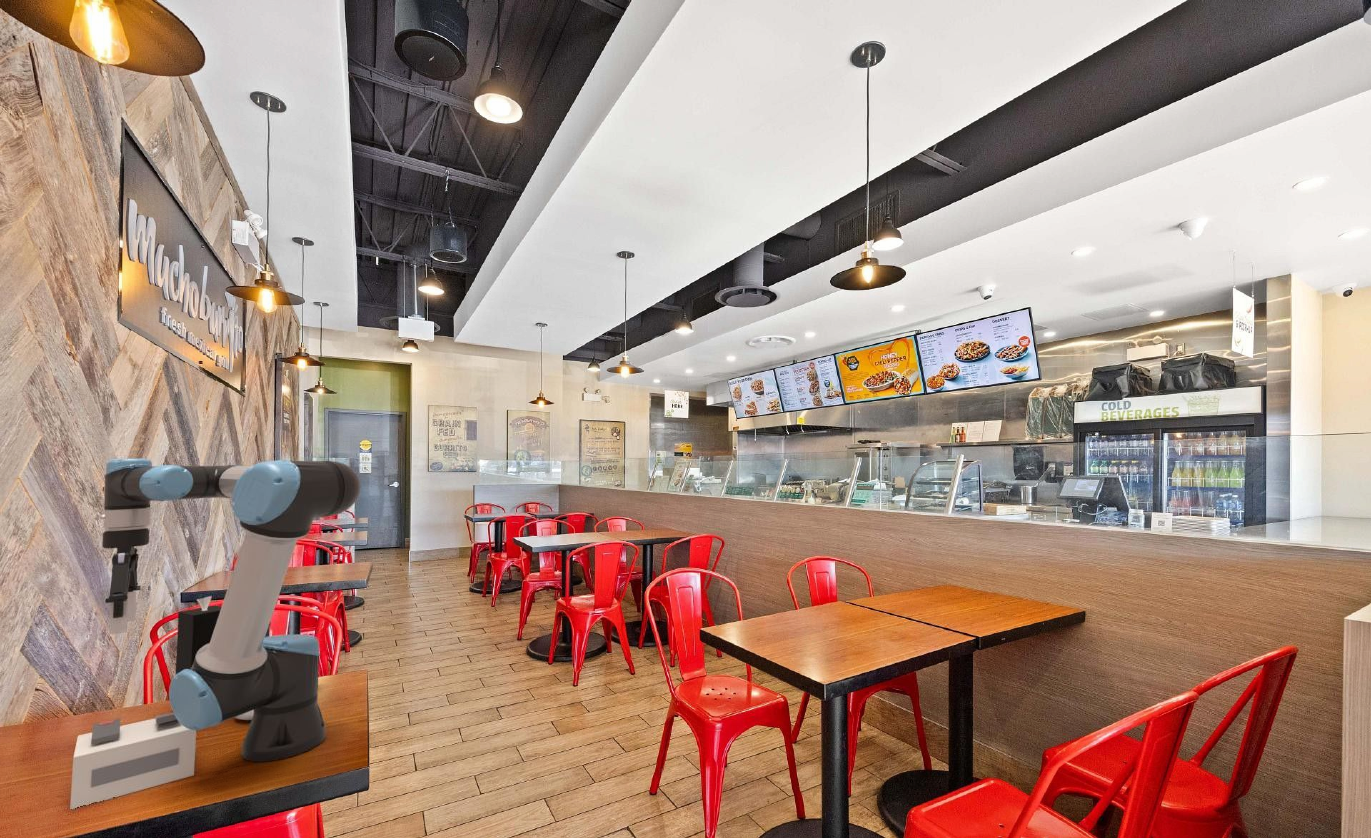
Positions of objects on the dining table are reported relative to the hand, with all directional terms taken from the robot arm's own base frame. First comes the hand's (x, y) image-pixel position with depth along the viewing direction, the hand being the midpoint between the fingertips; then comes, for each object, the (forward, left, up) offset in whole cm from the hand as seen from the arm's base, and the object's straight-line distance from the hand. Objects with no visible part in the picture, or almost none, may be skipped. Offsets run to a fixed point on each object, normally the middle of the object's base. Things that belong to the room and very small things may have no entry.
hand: (122, 627), depth 129 cm
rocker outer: (-16, +11, -16) cm, 24 cm away
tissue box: (+5, -20, -26) cm, 34 cm away
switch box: (-18, +7, -26) cm, 32 cm away
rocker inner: (-20, +3, -16) cm, 26 cm away
